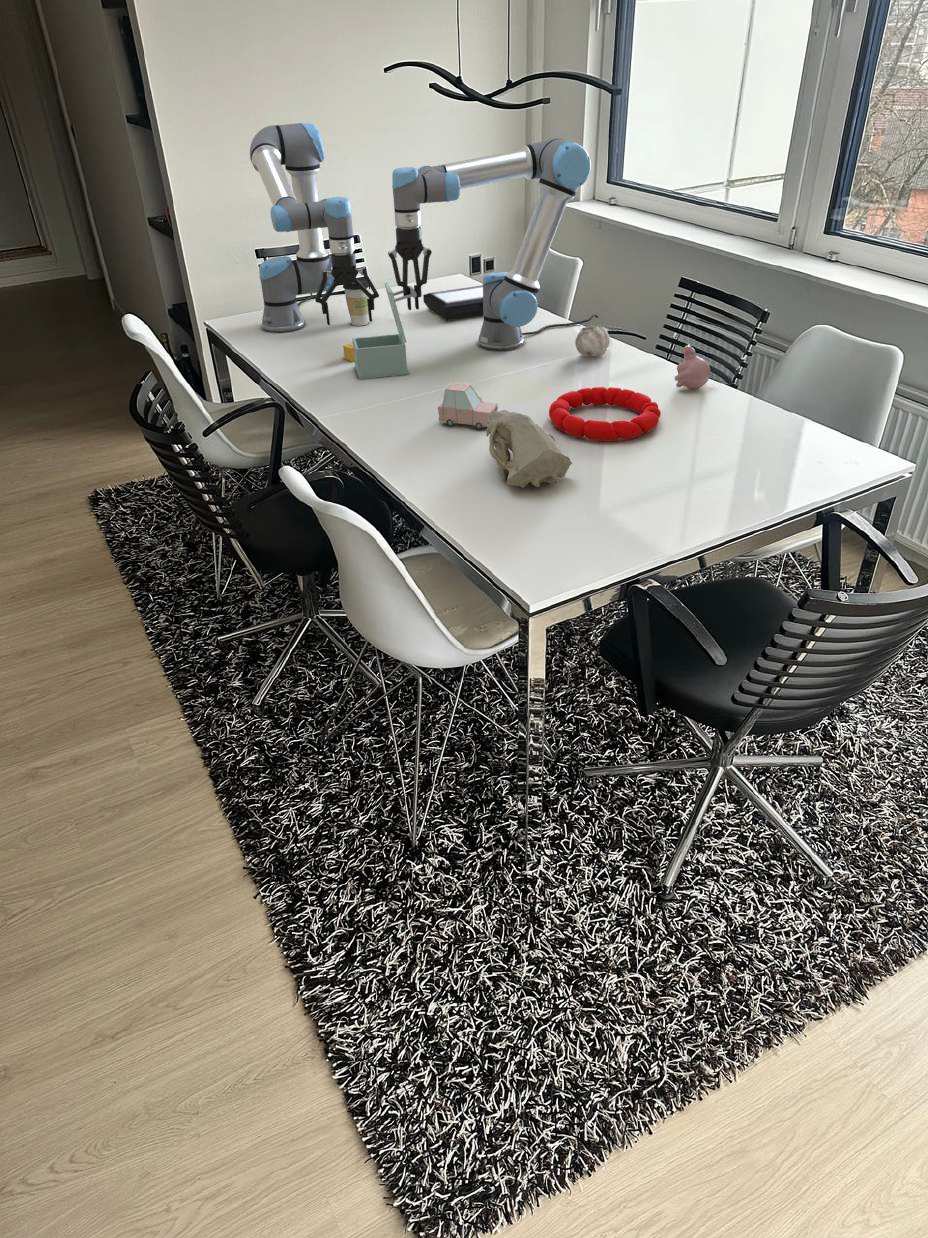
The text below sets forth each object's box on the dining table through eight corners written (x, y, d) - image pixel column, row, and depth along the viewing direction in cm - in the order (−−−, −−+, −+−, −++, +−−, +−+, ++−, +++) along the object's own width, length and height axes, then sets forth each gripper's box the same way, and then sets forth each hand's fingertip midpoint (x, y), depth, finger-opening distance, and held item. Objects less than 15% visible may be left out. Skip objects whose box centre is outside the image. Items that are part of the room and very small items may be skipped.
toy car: (488, 432, 240) (488, 396, 234) (436, 426, 244) (434, 390, 239) (499, 419, 247) (499, 384, 241) (448, 413, 252) (447, 379, 246)
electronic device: (443, 305, 321) (423, 292, 336) (444, 322, 324) (424, 309, 339) (522, 293, 331) (499, 281, 346) (522, 310, 334) (499, 297, 350)
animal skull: (496, 517, 219) (521, 479, 201) (463, 429, 225) (484, 384, 207) (557, 503, 225) (586, 465, 206) (523, 417, 231) (549, 373, 212)
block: (351, 361, 292) (350, 348, 289) (344, 358, 295) (342, 345, 292) (362, 358, 294) (361, 345, 292) (355, 355, 297) (354, 342, 294)
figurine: (665, 387, 264) (669, 347, 257) (693, 380, 268) (698, 340, 261) (686, 396, 257) (690, 355, 250) (714, 388, 262) (720, 348, 255)
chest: (359, 379, 278) (356, 349, 272) (355, 367, 287) (352, 338, 282) (407, 374, 280) (405, 344, 275) (401, 362, 290) (399, 333, 284)
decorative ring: (589, 435, 224) (684, 402, 234) (527, 398, 247) (617, 369, 256) (589, 461, 229) (683, 427, 238) (529, 422, 251) (617, 393, 260)
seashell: (565, 355, 290) (566, 324, 284) (602, 347, 296) (604, 317, 290) (583, 364, 283) (584, 332, 277) (621, 355, 288) (623, 324, 283)
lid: (389, 292, 265) (414, 284, 265) (384, 282, 275) (408, 275, 275) (403, 343, 274) (428, 335, 275) (398, 332, 284) (422, 324, 284)
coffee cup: (372, 326, 323) (368, 283, 314) (345, 327, 323) (340, 284, 315) (374, 318, 331) (371, 276, 322) (348, 319, 331) (344, 277, 323)
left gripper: (302, 258, 271) (311, 328, 283) (384, 252, 274) (389, 321, 286) (301, 253, 277) (310, 322, 289) (381, 246, 280) (386, 315, 292)
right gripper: (385, 230, 257) (391, 313, 271) (435, 227, 260) (438, 309, 273) (381, 225, 263) (388, 307, 277) (430, 222, 266) (434, 303, 279)
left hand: (349, 322), depth 288 cm, fingers open, 13 cm apart
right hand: (413, 308), depth 275 cm, fingers closed on lid, 2 cm apart
